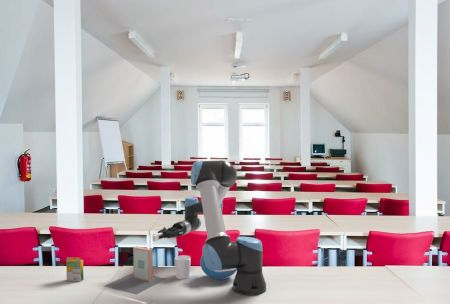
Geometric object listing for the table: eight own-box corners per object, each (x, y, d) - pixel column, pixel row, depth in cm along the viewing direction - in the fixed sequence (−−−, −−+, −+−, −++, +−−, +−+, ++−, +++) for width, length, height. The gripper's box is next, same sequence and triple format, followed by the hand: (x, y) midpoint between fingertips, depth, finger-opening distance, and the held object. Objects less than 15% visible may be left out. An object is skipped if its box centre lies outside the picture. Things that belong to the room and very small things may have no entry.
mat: (167, 279, 193) (167, 278, 193) (136, 295, 174) (136, 294, 174) (135, 272, 203) (135, 271, 203) (103, 287, 183) (103, 286, 183)
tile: (152, 279, 191) (152, 249, 190) (149, 281, 189) (149, 250, 188) (136, 276, 196) (136, 246, 195) (133, 277, 194) (133, 247, 193)
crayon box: (83, 279, 194) (83, 255, 194) (80, 281, 191) (80, 257, 191) (69, 278, 195) (69, 255, 194) (66, 281, 192) (66, 257, 191)
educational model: (238, 283, 187) (238, 252, 187) (199, 283, 188) (198, 252, 187) (238, 272, 203) (238, 243, 202) (201, 272, 203) (201, 243, 203)
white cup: (183, 281, 190) (183, 261, 190) (171, 278, 195) (171, 258, 194) (194, 277, 196) (194, 257, 196) (182, 273, 201) (182, 254, 201)
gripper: (191, 236, 217) (164, 247, 197) (171, 233, 224) (143, 243, 203) (190, 222, 217) (163, 232, 196) (171, 220, 223) (143, 229, 203)
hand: (153, 238), depth 200 cm, fingers closed
